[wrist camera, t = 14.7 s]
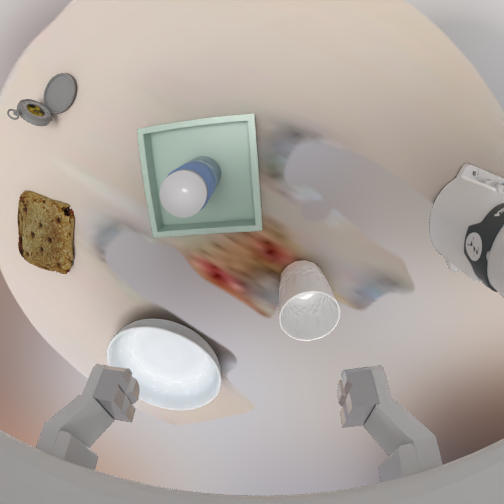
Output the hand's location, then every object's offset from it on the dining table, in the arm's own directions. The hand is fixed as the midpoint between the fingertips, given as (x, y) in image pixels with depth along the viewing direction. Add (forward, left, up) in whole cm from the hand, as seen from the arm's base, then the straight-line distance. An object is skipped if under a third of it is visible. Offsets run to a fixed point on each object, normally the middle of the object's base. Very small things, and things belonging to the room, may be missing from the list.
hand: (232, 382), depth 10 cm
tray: (+7, -3, -33) cm, 34 cm away
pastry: (+38, +3, -34) cm, 51 cm away
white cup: (-6, +14, -33) cm, 37 cm away
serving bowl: (+18, +28, -33) cm, 47 cm away
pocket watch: (+30, -19, -33) cm, 48 cm away
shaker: (+7, -3, -32) cm, 33 cm away
